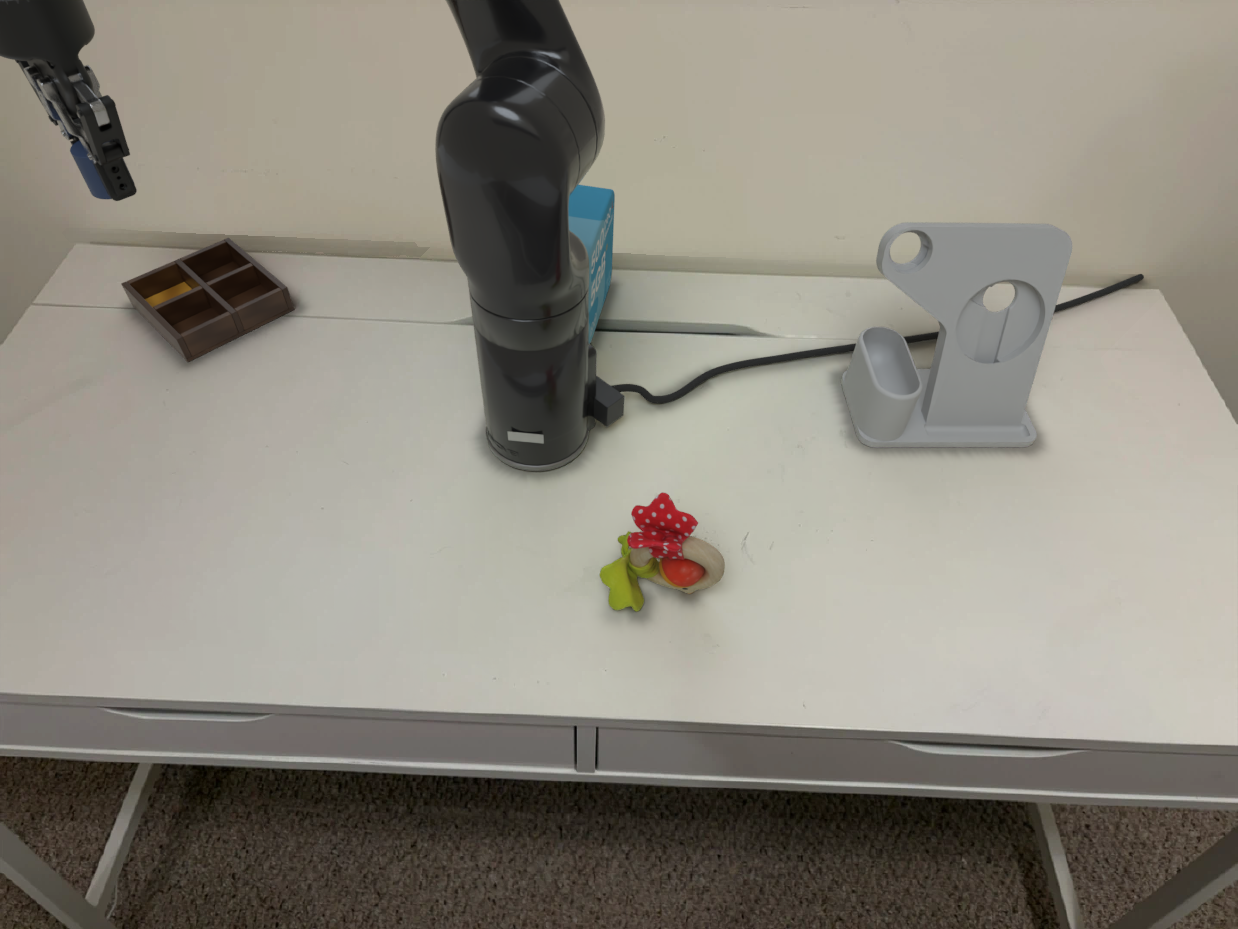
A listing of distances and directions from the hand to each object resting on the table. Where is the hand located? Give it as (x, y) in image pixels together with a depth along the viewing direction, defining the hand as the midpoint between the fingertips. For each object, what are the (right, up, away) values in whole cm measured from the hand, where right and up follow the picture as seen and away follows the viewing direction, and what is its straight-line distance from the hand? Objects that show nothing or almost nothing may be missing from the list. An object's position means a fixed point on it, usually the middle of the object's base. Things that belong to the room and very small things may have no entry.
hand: (113, 185), depth 73 cm
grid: (+3, -8, +12) cm, 15 cm away
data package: (+41, -9, +14) cm, 44 cm away
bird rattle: (+48, -35, -7) cm, 60 cm away
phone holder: (+76, -20, +7) cm, 78 cm away
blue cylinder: (0, 0, 0) cm, 0 cm away
